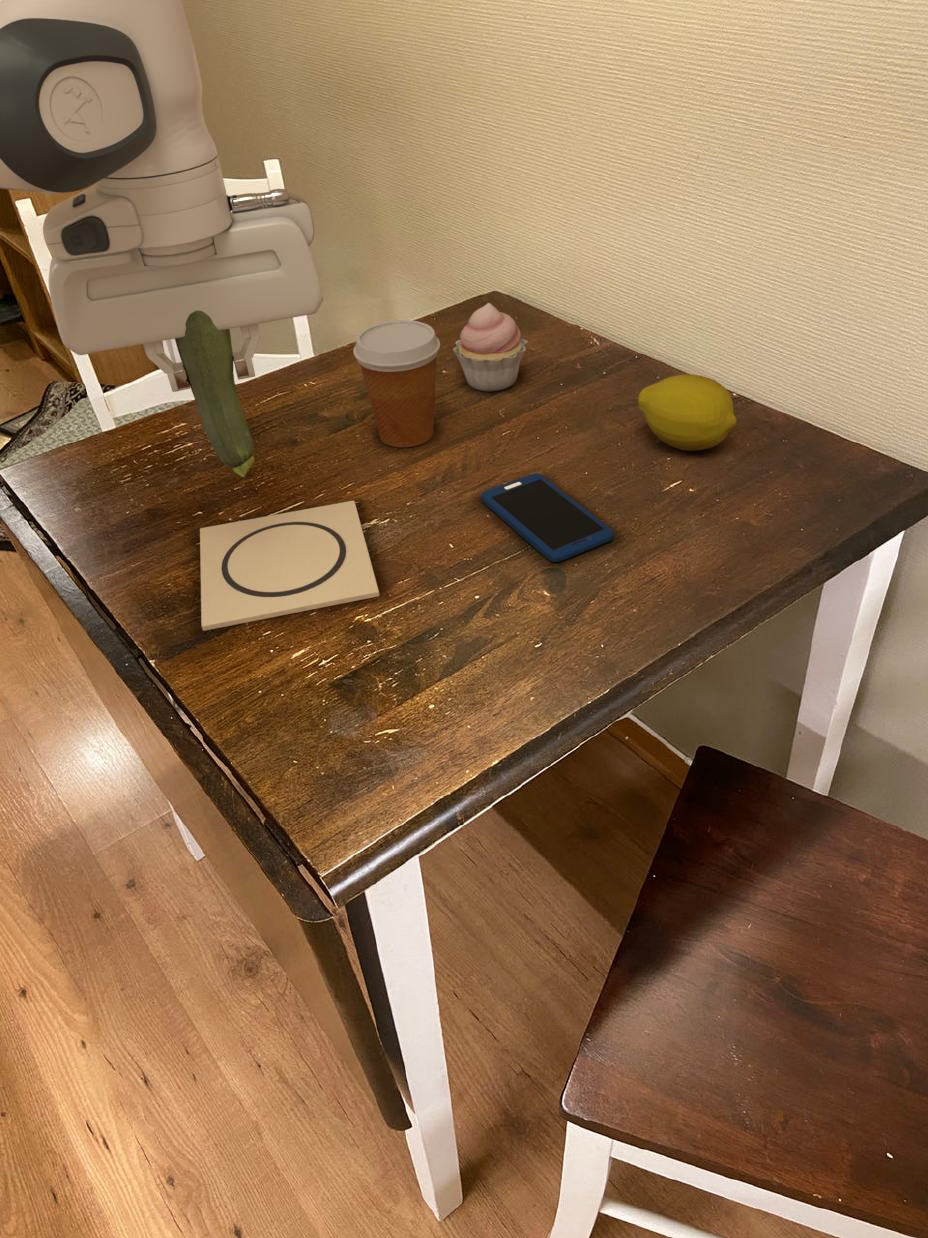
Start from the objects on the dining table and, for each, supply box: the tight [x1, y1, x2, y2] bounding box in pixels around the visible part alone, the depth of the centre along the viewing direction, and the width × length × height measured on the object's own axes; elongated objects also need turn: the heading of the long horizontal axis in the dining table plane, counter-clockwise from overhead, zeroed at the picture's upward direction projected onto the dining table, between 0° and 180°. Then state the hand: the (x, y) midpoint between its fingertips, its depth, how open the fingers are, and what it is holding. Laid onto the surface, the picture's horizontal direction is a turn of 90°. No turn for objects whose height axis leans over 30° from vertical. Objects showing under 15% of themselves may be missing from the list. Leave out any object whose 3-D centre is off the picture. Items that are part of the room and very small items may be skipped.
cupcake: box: [452, 302, 529, 392], centre depth 109 cm, size 9×9×10 cm
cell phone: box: [480, 473, 615, 563], centre depth 88 cm, size 7×14×1 cm, turn 30°
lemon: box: [637, 374, 738, 452], centre depth 95 cm, size 11×8×8 cm
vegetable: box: [174, 310, 255, 478], centre depth 73 cm, size 4×4×20 cm
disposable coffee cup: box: [352, 319, 441, 448], centre depth 100 cm, size 10×10×12 cm
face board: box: [199, 500, 380, 632], centre depth 85 cm, size 16×16×1 cm
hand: (213, 381), depth 73 cm, fingers closed on vegetable, 4 cm apart
